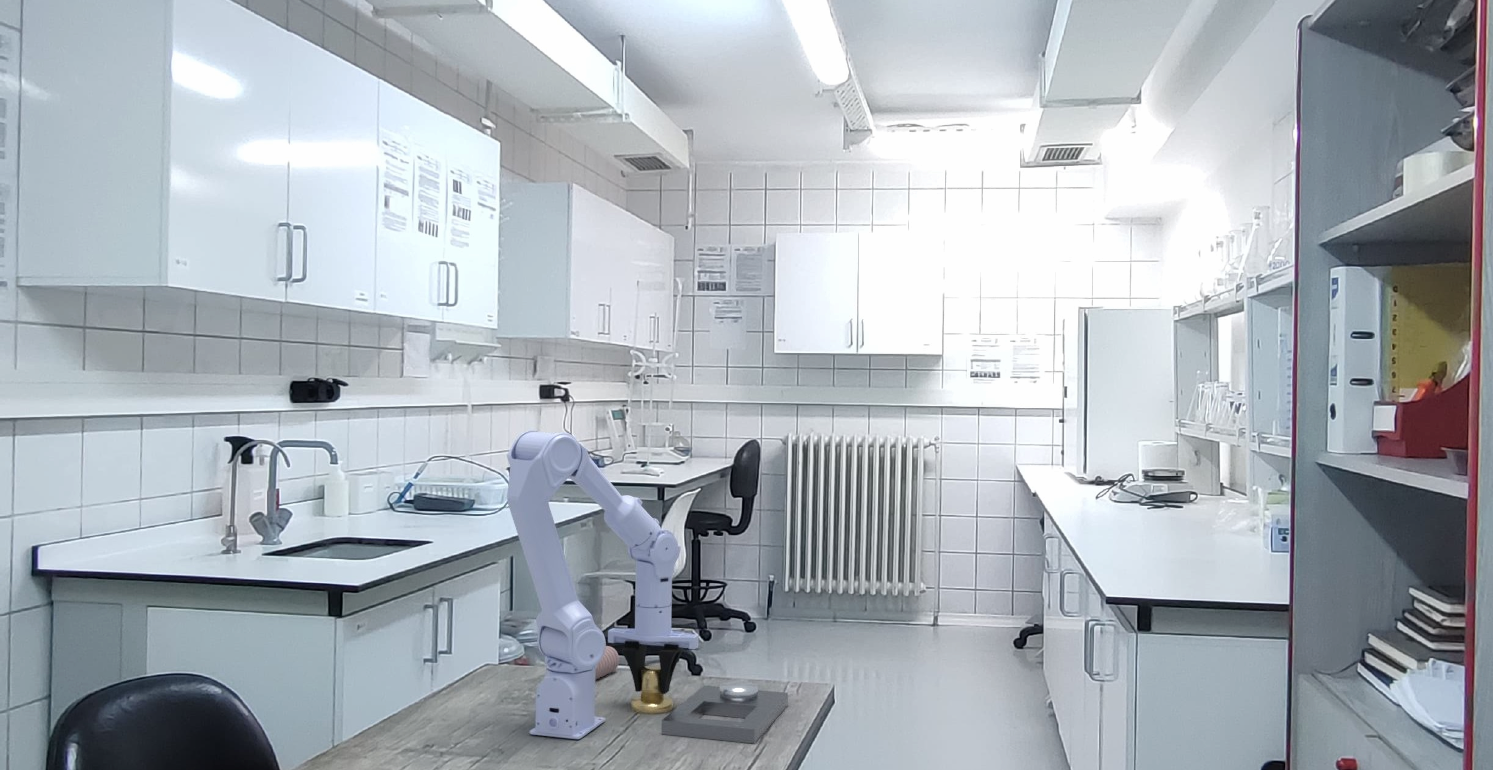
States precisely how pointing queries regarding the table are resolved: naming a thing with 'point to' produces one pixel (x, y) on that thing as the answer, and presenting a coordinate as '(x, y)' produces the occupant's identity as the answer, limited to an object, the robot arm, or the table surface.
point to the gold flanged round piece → (651, 693)
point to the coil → (607, 662)
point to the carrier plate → (726, 712)
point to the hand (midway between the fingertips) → (652, 691)
